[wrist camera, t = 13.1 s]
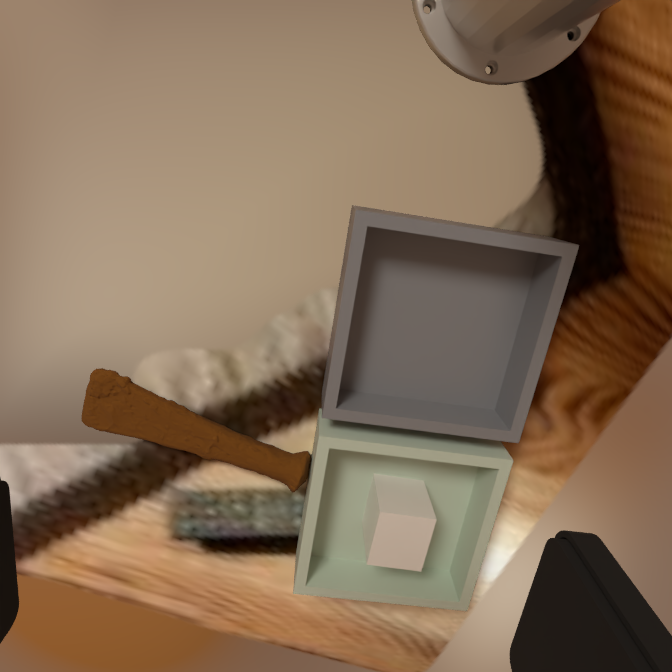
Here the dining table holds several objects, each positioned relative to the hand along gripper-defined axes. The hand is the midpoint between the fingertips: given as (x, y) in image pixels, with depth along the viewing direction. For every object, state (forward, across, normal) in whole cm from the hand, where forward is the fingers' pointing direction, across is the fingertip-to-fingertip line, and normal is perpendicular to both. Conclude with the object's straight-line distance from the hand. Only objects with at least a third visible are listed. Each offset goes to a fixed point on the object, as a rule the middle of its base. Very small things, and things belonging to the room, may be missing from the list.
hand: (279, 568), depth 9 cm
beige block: (+29, -9, +20) cm, 36 cm away
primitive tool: (+31, +8, +16) cm, 35 cm away
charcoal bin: (+30, -10, +3) cm, 32 cm away
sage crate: (+30, -9, +20) cm, 37 cm away
